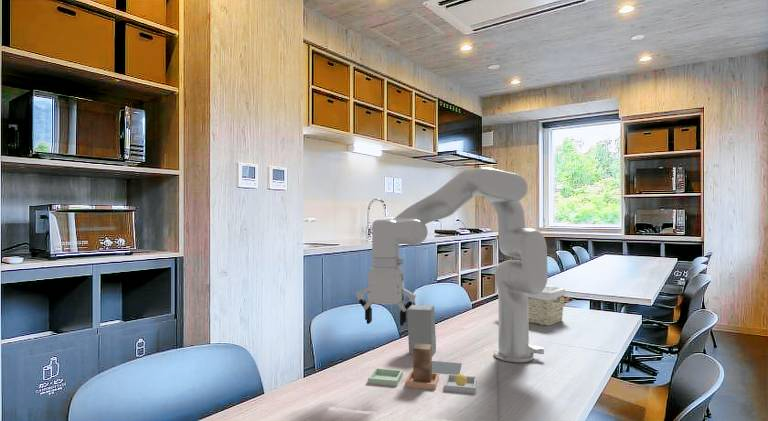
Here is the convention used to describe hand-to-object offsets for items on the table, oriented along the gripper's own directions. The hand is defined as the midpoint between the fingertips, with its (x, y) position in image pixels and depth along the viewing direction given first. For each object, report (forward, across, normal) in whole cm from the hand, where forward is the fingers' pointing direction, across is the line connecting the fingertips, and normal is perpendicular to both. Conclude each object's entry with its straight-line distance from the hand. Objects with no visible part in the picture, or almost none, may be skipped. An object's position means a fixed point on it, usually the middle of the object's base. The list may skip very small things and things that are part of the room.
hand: (385, 323), depth 126 cm
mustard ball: (+14, -21, 0) cm, 25 cm away
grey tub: (+16, -21, 0) cm, 27 cm away
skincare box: (+16, -6, -27) cm, 32 cm away
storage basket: (+17, -46, -84) cm, 97 cm away
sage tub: (+16, 0, 0) cm, 16 cm away
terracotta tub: (+16, -10, 0) cm, 19 cm away
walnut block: (+16, -10, 0) cm, 19 cm away
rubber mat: (+16, -15, -13) cm, 26 cm away
